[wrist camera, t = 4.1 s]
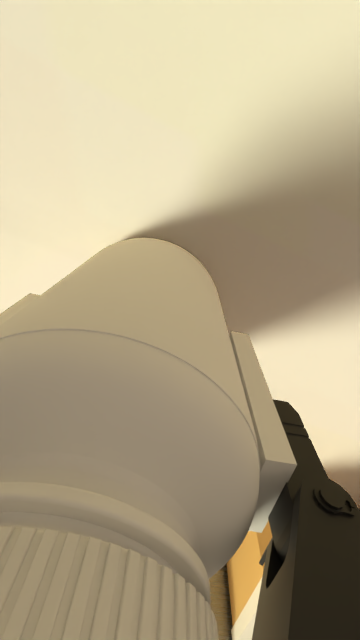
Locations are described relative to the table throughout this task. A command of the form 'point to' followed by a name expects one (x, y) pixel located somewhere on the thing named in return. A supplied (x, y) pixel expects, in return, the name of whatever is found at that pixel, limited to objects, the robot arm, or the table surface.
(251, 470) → the pill bottle
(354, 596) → the robot arm
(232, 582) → the cream cube
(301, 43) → the table surface
